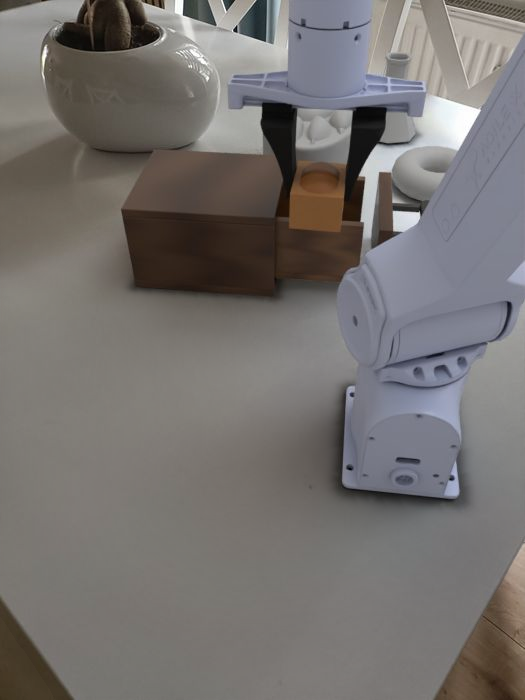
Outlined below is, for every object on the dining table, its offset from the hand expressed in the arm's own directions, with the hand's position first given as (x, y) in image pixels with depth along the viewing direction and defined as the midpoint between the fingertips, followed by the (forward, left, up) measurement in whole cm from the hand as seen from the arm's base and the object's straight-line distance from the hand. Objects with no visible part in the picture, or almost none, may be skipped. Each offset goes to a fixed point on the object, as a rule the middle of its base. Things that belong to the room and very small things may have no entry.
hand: (319, 193), depth 52 cm
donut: (+22, -13, -11) cm, 27 cm away
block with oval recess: (-1, 0, -1) cm, 2 cm away
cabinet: (+5, +10, -11) cm, 15 cm away
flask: (+36, -8, -11) cm, 38 cm away
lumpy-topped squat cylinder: (+22, +2, -11) cm, 24 cm away
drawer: (+5, -2, -10) cm, 11 cm away
